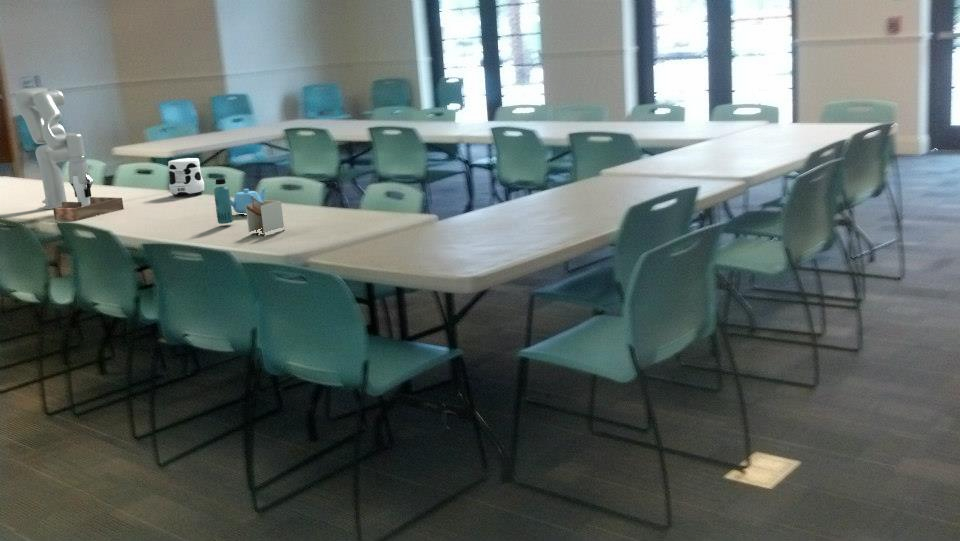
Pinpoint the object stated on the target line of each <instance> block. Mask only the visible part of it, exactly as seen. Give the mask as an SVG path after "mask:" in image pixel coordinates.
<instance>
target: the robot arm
mask: <svg viewBox="0 0 960 541" xmlns="http://www.w3.org/2000/svg"><path fill="white" fill-rule="evenodd" d="M65 101H66V99H65V96H64V94H63V93H62V91H61V90H59V89H55V88H51V87H37V88H25V89H21V90H18V91H17V92H16V93H15V95H14V104H15V106H16V108H17V110H18V112H19V114H20V115H21V116H22V118H23V120H24V122H25V124H26V126H27V129H28V130H29V131H28V132H29V133H30V136H31V138H32V141H33V142H34V143H35V144H37V145H39V146H38V147H36V149H35V157H36V160H37V162H38V165H39V166H38V167H39V168H40V175H41V179H42V186H43V193H44V200H42V201H41V202H42V204H45V205H43V209H44V210H53V208H56V207H60V206H62V202H68V201H67V195H66V191H65V190H66V189H65V182H64V178H63V172H62V170H61V168H60V167H59V166H58V165H57V163H64V162H69V163H68V179H69V180H68V183H69V184H70V186H71V187H72V189H73V193H74V197H75V198H77V195H76V191H75V187H74V183H73V176H78V180H79V184H83V185H84V187H85V189H84V192H85V197H92V191H91V189H92V185H93V183H94V180H93V179H92V178H91V173H90V169H89V166H88V162H87V159H86V153H85V146H84V140H83V135H82V134H81V133H74V132H66V130H65V128H64V127H63V125H61V124H60V121H61V120H62V117H63V115H62V113H61V112H60V109H59V108H60V107H61V108H62V107H63V106H64V105H65V103H66V102H65ZM34 107H36V108H34ZM40 144H41V145H40ZM86 180H87V182H86ZM86 184H87V186H86Z"/></svg>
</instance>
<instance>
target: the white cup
mask: <svg viewBox="0 0 960 541" xmlns="http://www.w3.org/2000/svg"><path fill="white" fill-rule="evenodd" d="M86 182H87V180H86ZM73 183H74V187H75V191H76V195H77V197H76V199H77V202H81V205H82V207H83V206H87V205H90V197H85V192H84V189H85V187H84V185H83V184H79V180H78V176H73ZM86 186H87V184H86Z"/></svg>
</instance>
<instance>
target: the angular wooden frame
mask: <svg viewBox="0 0 960 541" xmlns="http://www.w3.org/2000/svg"><path fill="white" fill-rule="evenodd" d="M52 210H53V215H54V220H55V221H75V222H76V221H81V220H85V219H88V218H93V217H96V215H97V216H101V215H100V214H102V215H105V213H106V214H109V212H110V213H113V212H114V213H115V212H117V211H121V210H125V209H124V202H123V197H109V196H108V197H105V196H103V197H102V196H91V197H90V205H87V206H82V205H81V202H78V201H67V202H62V206H60V207H56V208H53V209H52Z"/></svg>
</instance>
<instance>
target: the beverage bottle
mask: <svg viewBox="0 0 960 541" xmlns="http://www.w3.org/2000/svg"><path fill="white" fill-rule="evenodd" d="M226 183H227V182H226V179H225V178H217V179H215V186H216V187H215V188H214V189H213V192H214V193H213V194H214V203H215V209H216V217H217V218H216V219H217V223H218V224H221V225H222V224H231V223H233V220H234V218H233V217H234V216H233V211H232V210H233V208H232V206H231V202H230V199H231V197H230V188H229V187H228V186H226V185H225V184H226ZM219 185H221V186H219ZM222 185H224V186H222Z"/></svg>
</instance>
